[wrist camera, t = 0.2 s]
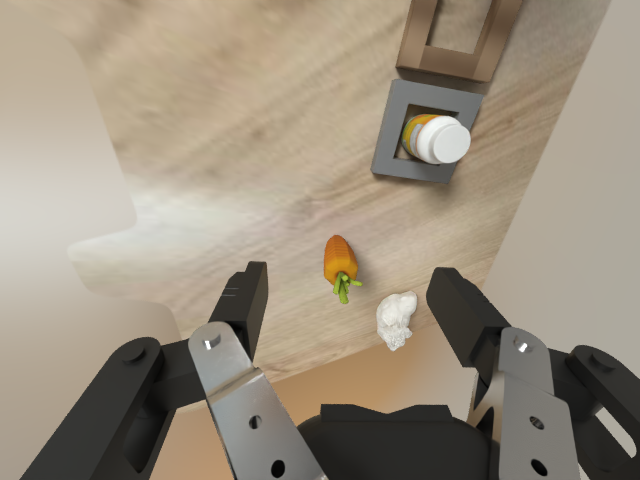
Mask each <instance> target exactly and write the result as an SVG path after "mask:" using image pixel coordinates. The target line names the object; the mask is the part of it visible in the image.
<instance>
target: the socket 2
mask: <svg viewBox="0 0 640 480" xmlns="http://www.w3.org/2000/svg"><path fill="white" fill-rule="evenodd" d="M483 97H484V95H481V94H476V93H470V92H465V91H459V90H454V89H449V88H443V87H438V86H432V85H427V84H422V83H416V82H411V81H405V80H400V79H395V80H392V83H391V87H390V91H389V95H388V100H387V104H386V108H385V112H384V116H383V120H382V124H381V128H380V132H379V136H378V140H377V144H376V149H375V153H374V157H373V161H372V165H371V169H370V170H371V171H372V172H373V173H378V174H385V175H391V176H398V177H405V178H411V179H418V180H425V181H432V182H438V183H445V184H448V183H449V181H450V178H451V176H452V173H453V171H454V168H455V166H456V163H457V161H458V160H457V161H455V162H452V163H441V164H431V163H428V162H422V161H416V160H409V159H403V158H396V157H394V153H395V150H396V146H397V142H398V139H399V135H400V132H401V128H402V125H403V121H404V118H405V114H406V111H407V107H408V104H411V105H416V106H422V107H428V108H433V109H439V110H445V111H450V112H452V114H451V117H453V118H455V119H456V120H458V121H459V122H460V124H461V125H462V126H463V127H465V128H466V129H467V130H468V131H470V129H471V127H472V124H473V122H474V119H475V117H476V114H477V112H478V109H479V107H480V104H481V102H482V99H483Z"/></svg>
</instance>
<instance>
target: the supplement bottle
mask: <svg viewBox="0 0 640 480" xmlns="http://www.w3.org/2000/svg"><path fill="white" fill-rule="evenodd" d="M401 139H402V145H403V147H404V149H405V150H406V151H407V152H408V153H410V154H412V155H414V156H416V157H418V158H420V159H421V160H423V161H425V162H428V163H431V164H441V163H452V162H455V161H457V160H459V159H460V158H462V157H463V156H464V155H465V153H466V152H467V150H468V148H469V146H470V141H471V138H470V133H469V131H468V130H467V129H466V128H465V127H463V126H462V125H461V124H460V122H459V121H458V120H456V119H455V118H453V117H449V116H441V115H430V114H421V115H417V116H415V117H413V118H412V119H411V120H410V121H409V122H408V123H407V124H406V125H405V127H404V129H403V132H402V137H401Z"/></svg>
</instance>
